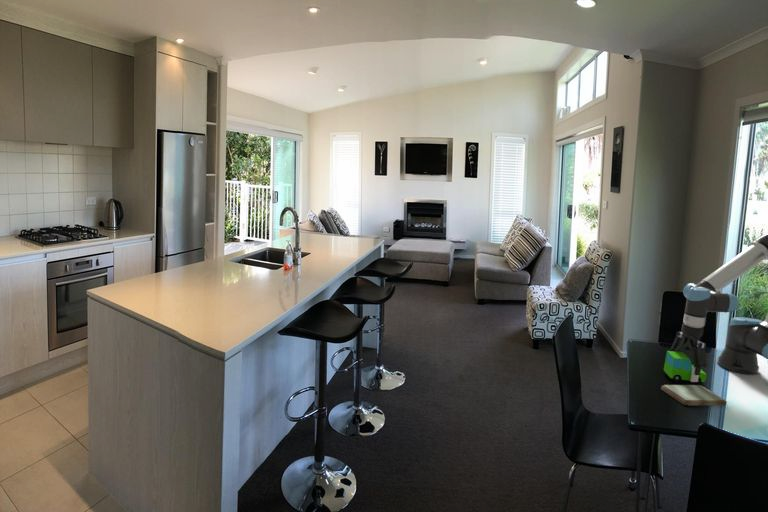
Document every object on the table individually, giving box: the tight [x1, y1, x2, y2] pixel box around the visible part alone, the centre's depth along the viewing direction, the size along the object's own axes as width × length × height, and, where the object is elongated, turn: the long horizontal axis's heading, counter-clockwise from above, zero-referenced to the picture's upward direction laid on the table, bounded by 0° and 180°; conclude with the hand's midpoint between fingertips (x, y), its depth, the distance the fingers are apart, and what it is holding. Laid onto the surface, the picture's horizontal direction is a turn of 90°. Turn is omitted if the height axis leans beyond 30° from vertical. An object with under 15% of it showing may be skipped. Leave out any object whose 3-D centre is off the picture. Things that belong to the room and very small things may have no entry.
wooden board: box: [660, 384, 727, 406], centre depth 188 cm, size 17×13×2 cm
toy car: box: [663, 350, 707, 385], centre depth 203 cm, size 10×13×10 cm
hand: (684, 375), depth 204 cm, fingers closed on toy car, 10 cm apart
